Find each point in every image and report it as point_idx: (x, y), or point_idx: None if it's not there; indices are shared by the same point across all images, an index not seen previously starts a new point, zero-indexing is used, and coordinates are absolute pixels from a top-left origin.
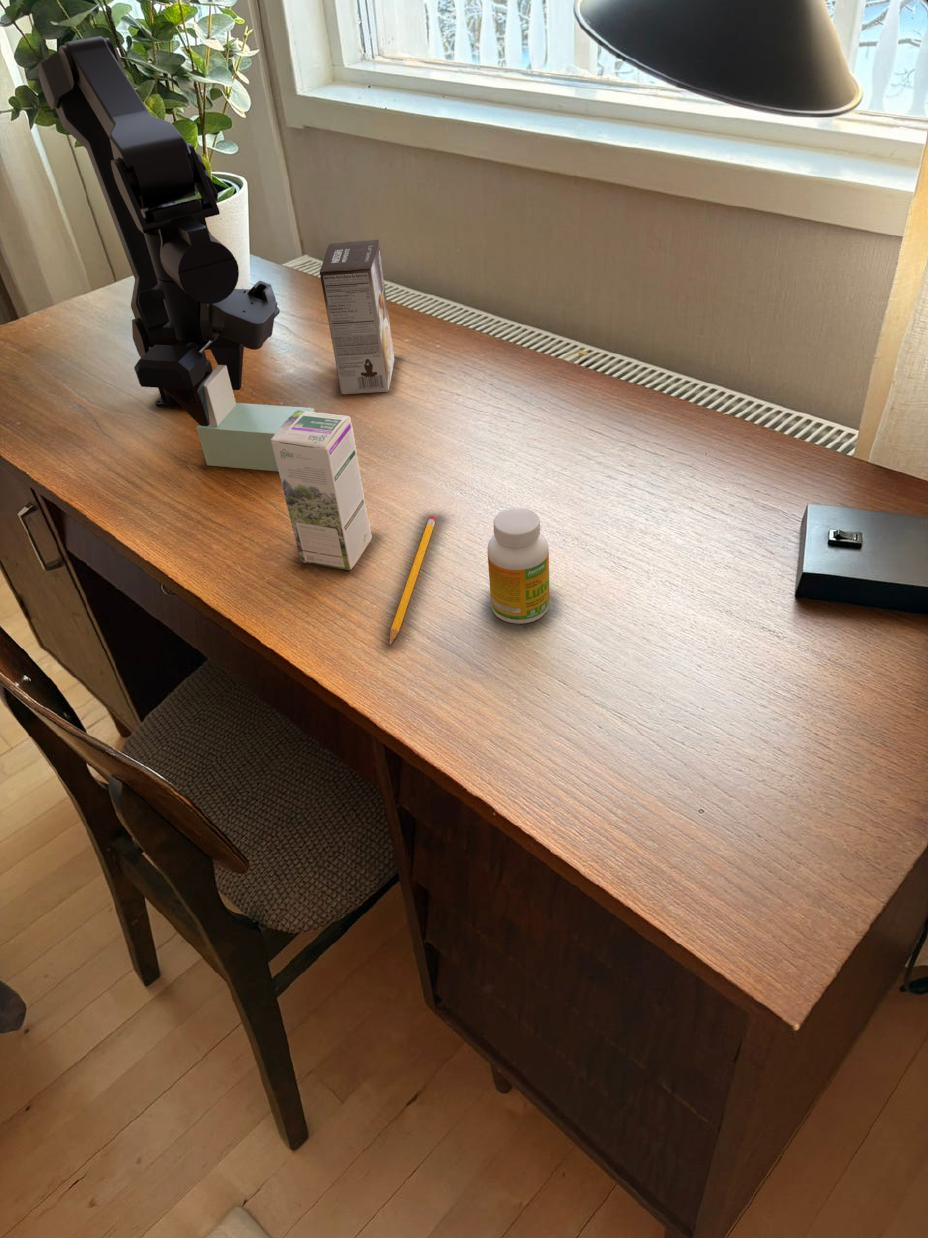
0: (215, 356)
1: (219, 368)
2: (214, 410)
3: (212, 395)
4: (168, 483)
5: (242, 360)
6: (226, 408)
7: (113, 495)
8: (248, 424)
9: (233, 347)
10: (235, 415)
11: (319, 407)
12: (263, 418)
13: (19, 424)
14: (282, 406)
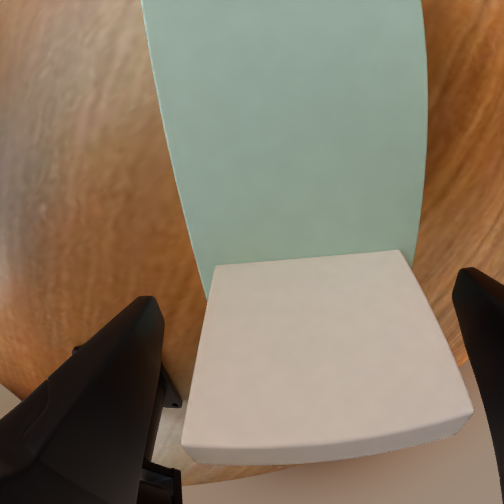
0: (138, 473)
1: (236, 455)
2: (419, 295)
3: (422, 355)
4: (436, 273)
5: (52, 377)
6: (307, 275)
7: (459, 332)
8: (370, 124)
9: (57, 478)
10: (303, 224)
11: (16, 106)
12: (297, 74)
13: (281, 466)
14: (156, 44)
